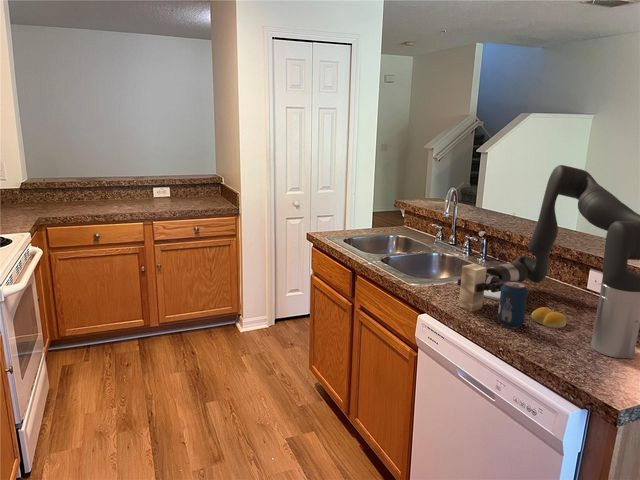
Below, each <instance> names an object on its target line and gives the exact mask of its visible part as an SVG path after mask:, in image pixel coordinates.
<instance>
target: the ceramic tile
mask: <svg viewBox="0 0 640 480" xmlns="http://www.w3.org/2000/svg"><path fill="white" fill-rule="evenodd" d="M500 294H501V291H499V292H491V290H489V291H485V290H484V296H483V298H484V299H485V298H486V299H491V300H494V301H495V300H496V301H499V302H500Z"/></svg>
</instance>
